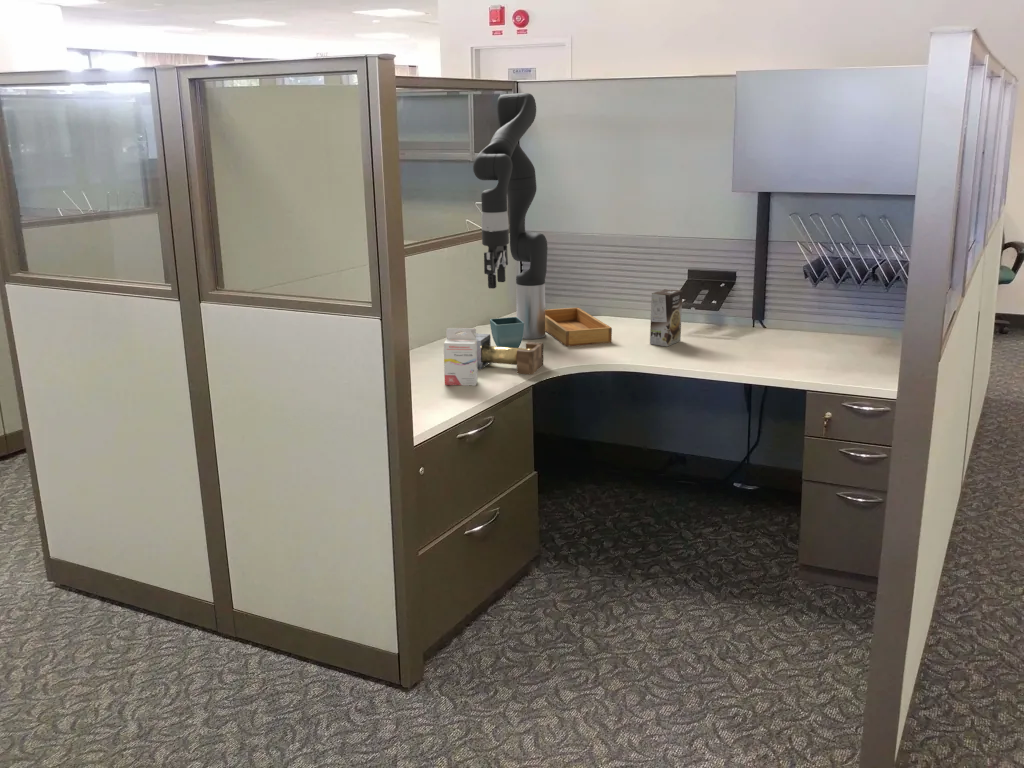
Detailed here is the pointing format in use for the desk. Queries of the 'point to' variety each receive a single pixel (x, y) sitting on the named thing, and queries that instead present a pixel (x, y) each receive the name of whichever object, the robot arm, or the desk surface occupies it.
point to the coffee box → (666, 317)
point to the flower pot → (507, 331)
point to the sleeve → (481, 340)
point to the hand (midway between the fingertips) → (497, 285)
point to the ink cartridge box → (460, 357)
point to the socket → (530, 358)
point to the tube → (500, 354)
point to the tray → (576, 327)
